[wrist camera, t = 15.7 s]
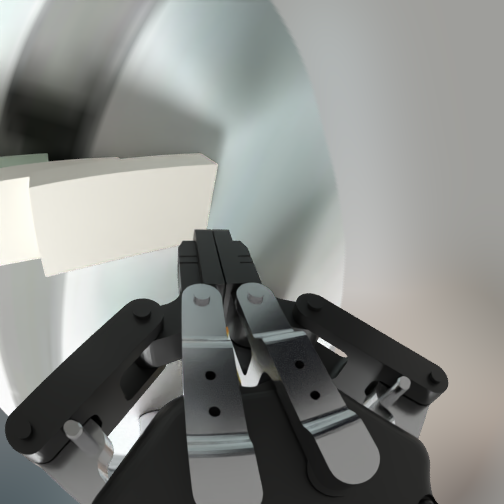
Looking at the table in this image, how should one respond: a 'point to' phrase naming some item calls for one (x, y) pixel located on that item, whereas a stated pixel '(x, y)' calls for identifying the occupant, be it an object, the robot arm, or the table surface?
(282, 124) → the table surface
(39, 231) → the domino
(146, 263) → the table surface
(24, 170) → the domino
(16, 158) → the domino
